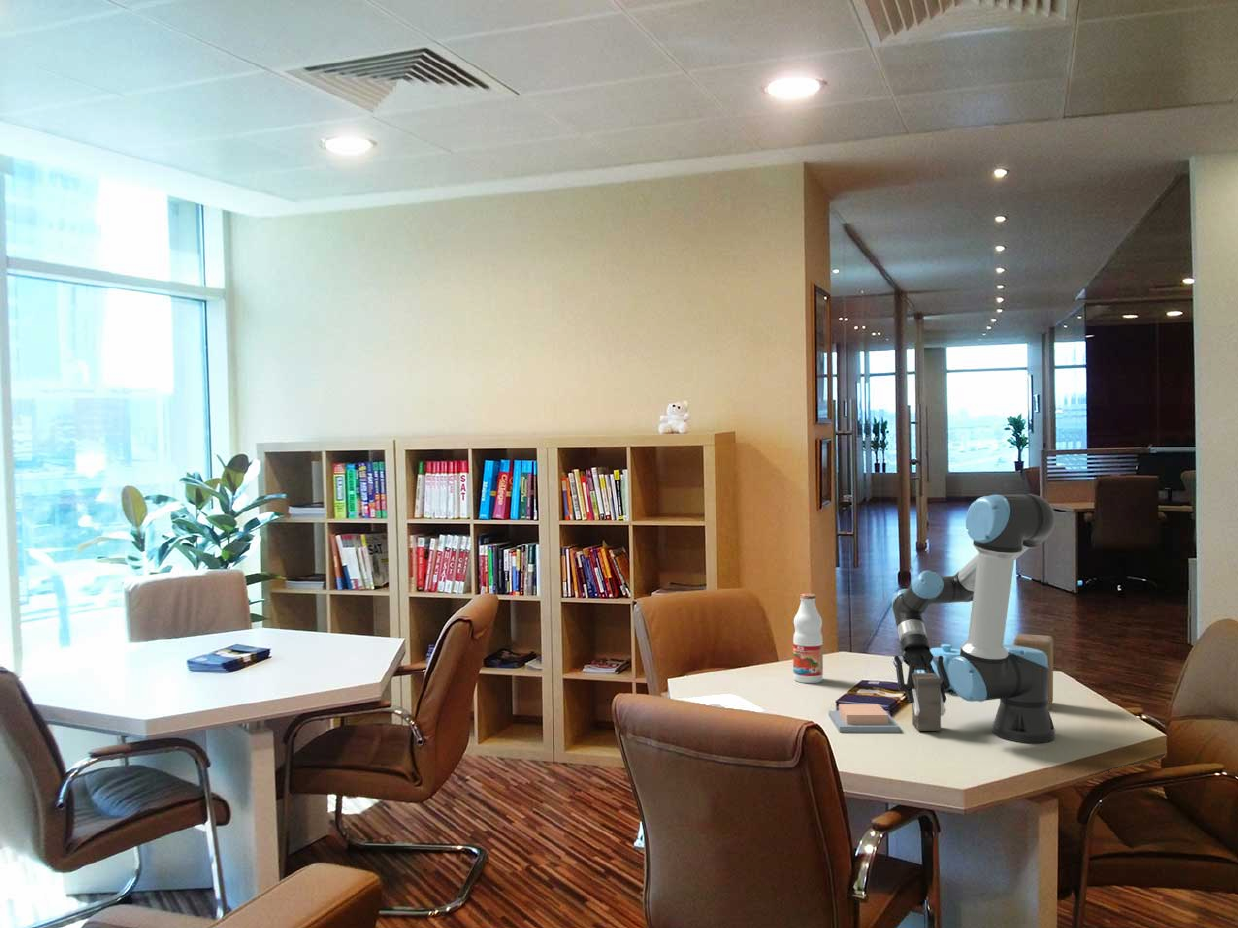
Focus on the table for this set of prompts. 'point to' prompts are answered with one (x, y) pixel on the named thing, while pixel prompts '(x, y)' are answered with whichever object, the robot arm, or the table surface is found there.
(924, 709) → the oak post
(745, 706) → the computer
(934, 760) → the table surface
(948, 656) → the decorative pot
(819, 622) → the fruit juice
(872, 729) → the plinth
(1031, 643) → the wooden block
